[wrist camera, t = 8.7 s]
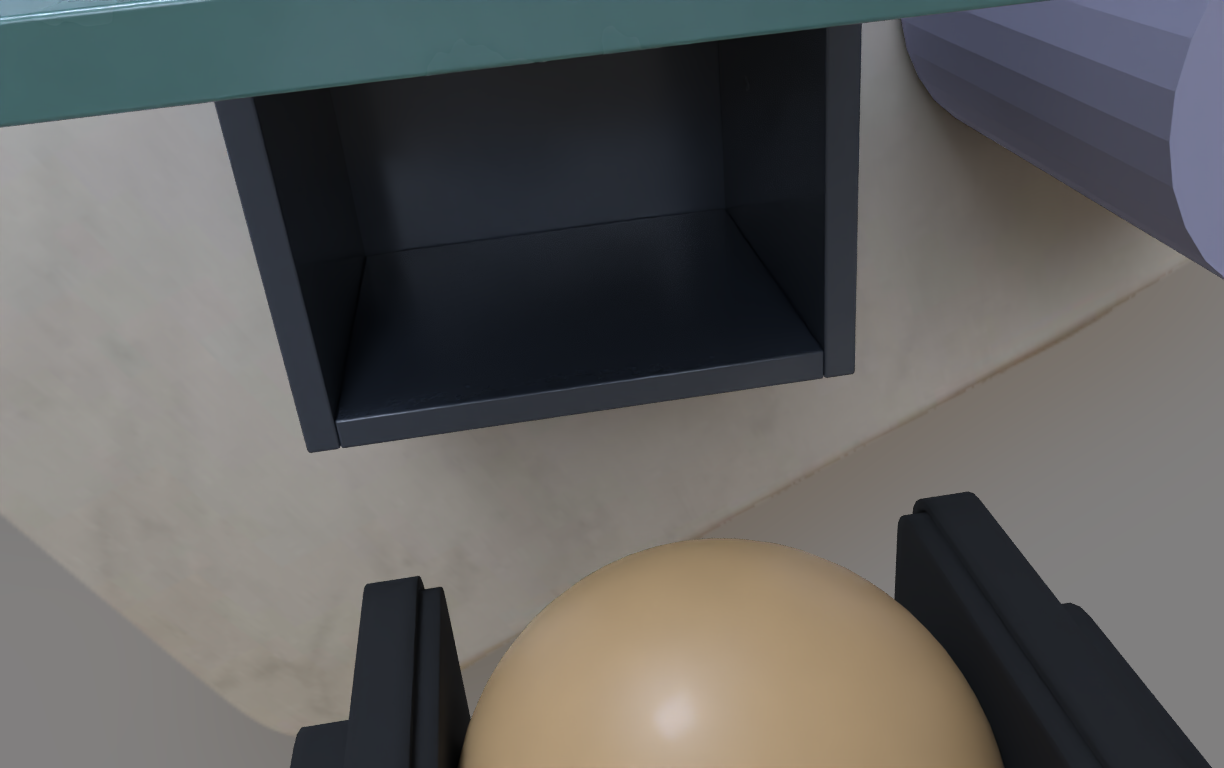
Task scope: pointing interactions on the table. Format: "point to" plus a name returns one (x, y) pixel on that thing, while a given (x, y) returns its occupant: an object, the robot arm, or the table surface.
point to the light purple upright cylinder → (1097, 102)
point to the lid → (351, 42)
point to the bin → (556, 233)
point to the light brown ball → (727, 672)
